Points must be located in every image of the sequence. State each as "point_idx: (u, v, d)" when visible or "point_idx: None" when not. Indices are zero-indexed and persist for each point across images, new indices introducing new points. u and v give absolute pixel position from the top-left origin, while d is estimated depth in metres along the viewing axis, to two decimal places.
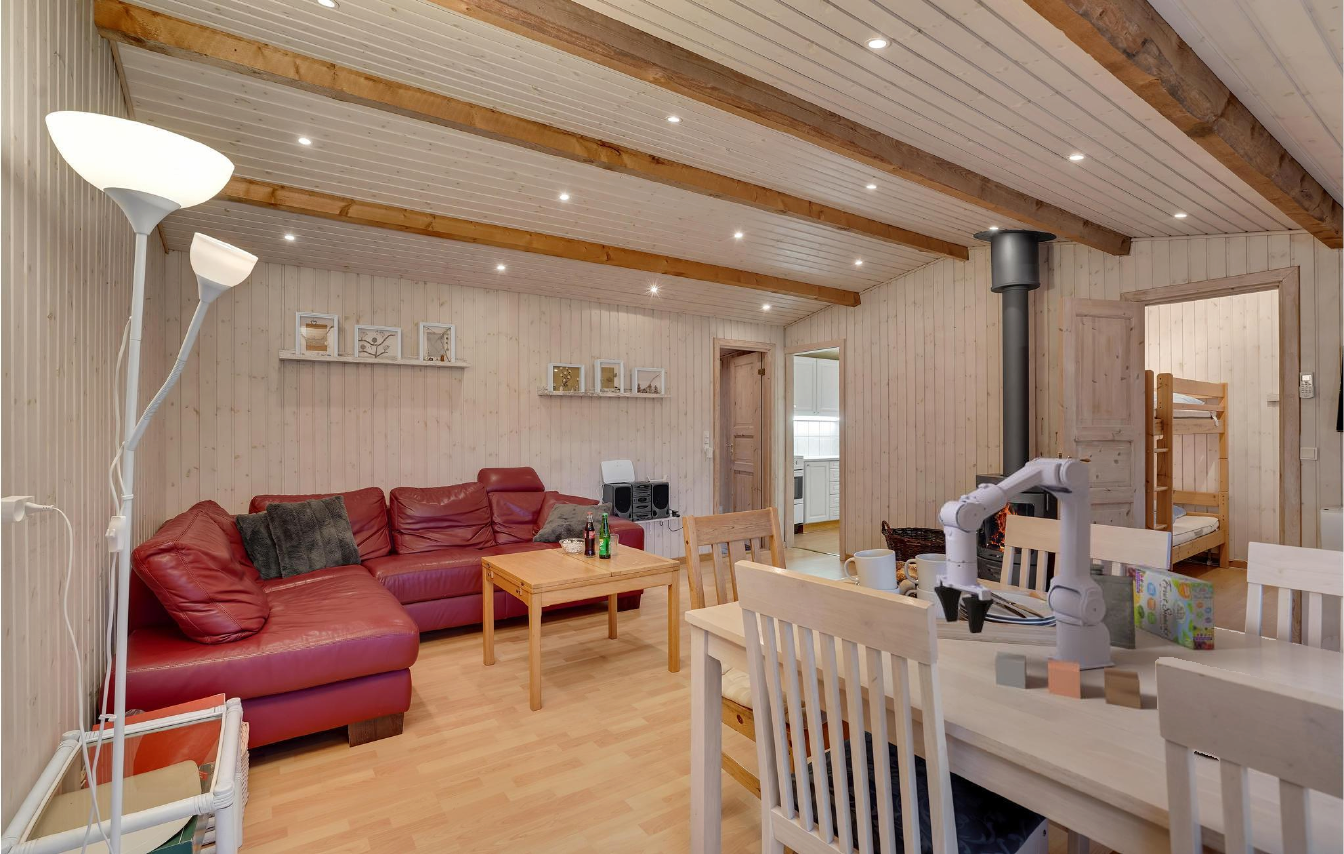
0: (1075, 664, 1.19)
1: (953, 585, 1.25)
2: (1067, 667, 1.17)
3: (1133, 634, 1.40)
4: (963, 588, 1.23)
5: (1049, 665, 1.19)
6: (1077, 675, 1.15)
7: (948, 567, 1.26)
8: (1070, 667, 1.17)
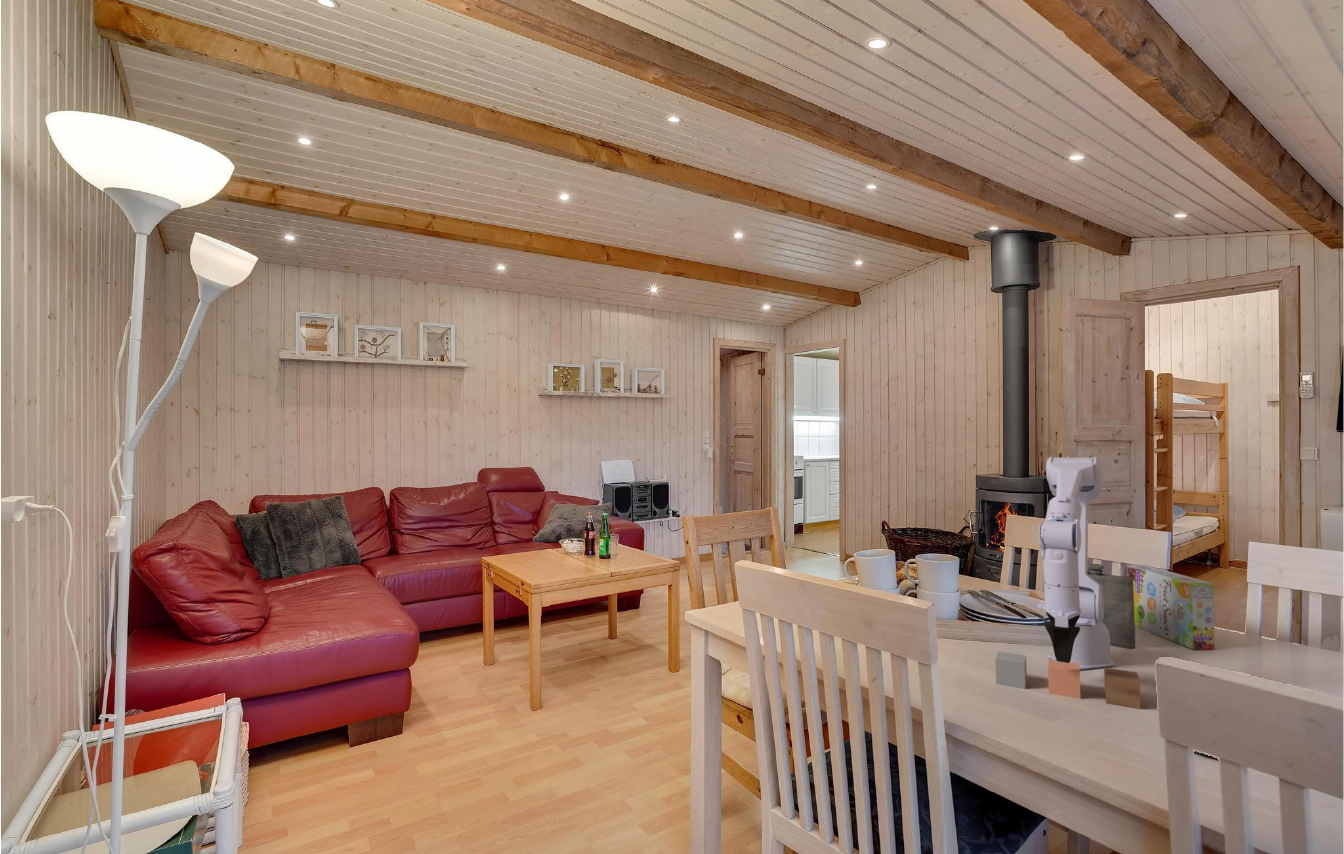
0: (1075, 664, 1.19)
1: (1044, 608, 1.19)
2: (1067, 667, 1.17)
3: (1133, 634, 1.40)
4: (1048, 612, 1.17)
5: (1049, 665, 1.19)
6: (1077, 675, 1.15)
7: (1044, 589, 1.20)
8: (1070, 667, 1.17)
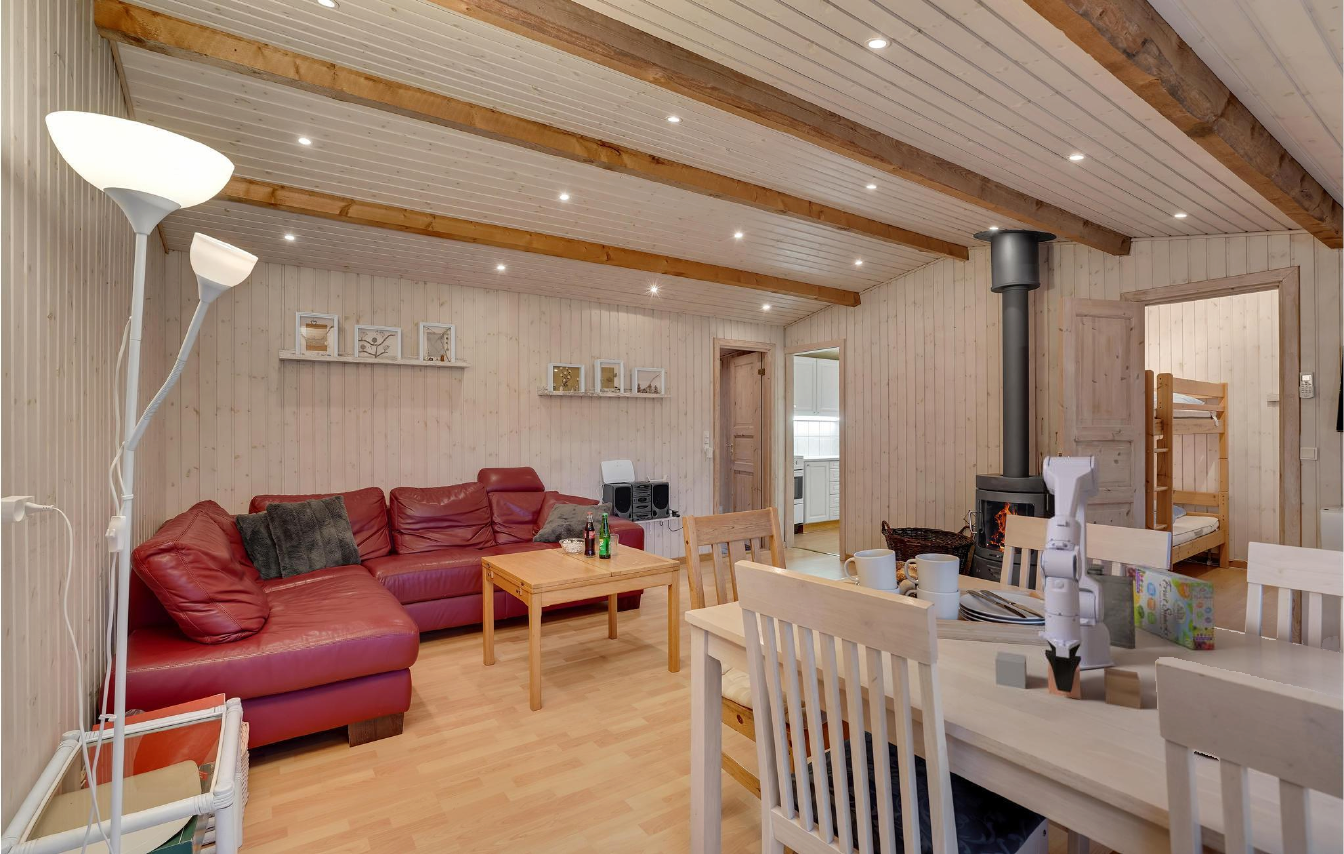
0: None
1: (1045, 636, 1.19)
2: None
3: (1133, 634, 1.40)
4: (1049, 640, 1.17)
5: (1049, 665, 1.19)
6: (1077, 675, 1.15)
7: None
8: None
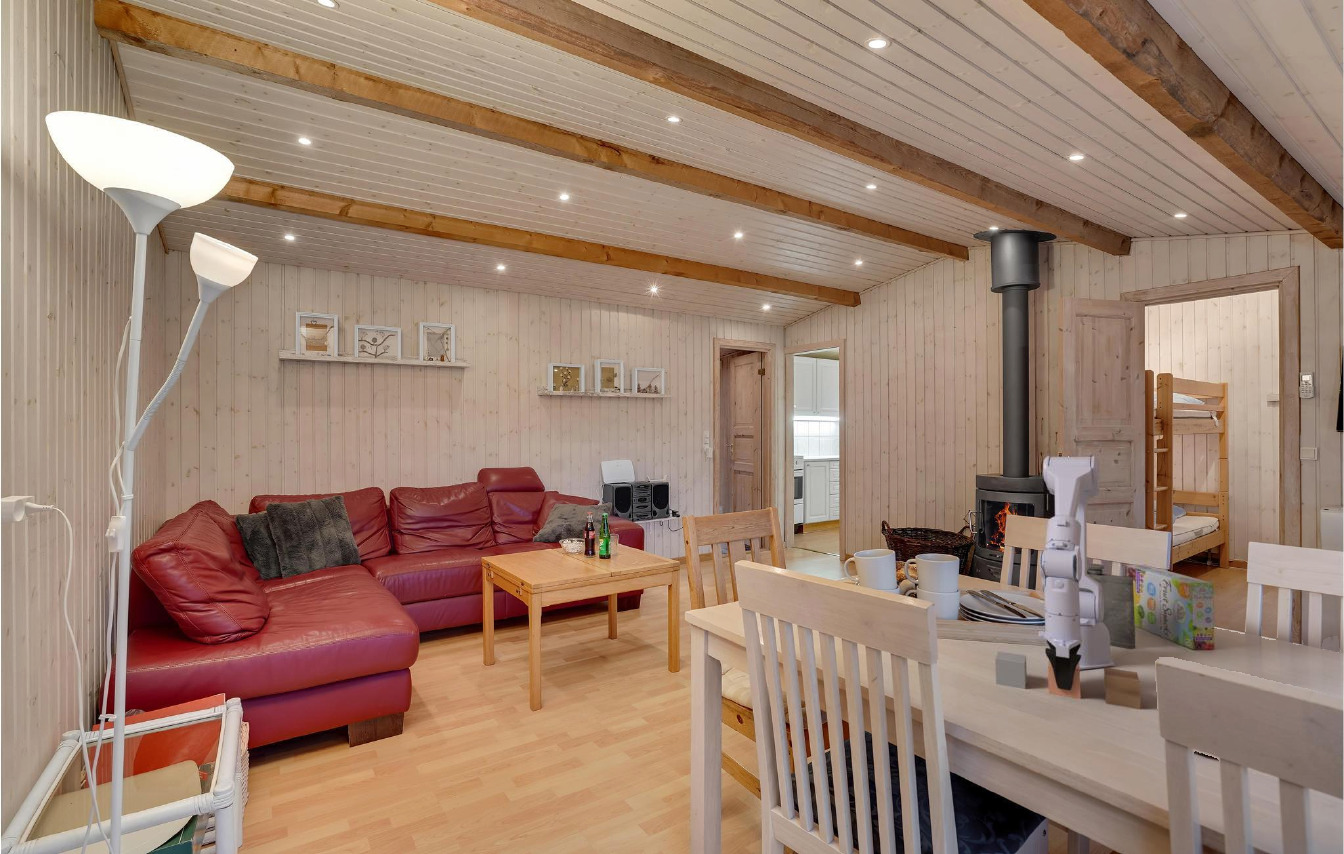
0: None
1: (1045, 636, 1.19)
2: None
3: (1133, 634, 1.40)
4: (1049, 640, 1.17)
5: (1049, 664, 1.19)
6: (1077, 674, 1.15)
7: None
8: None
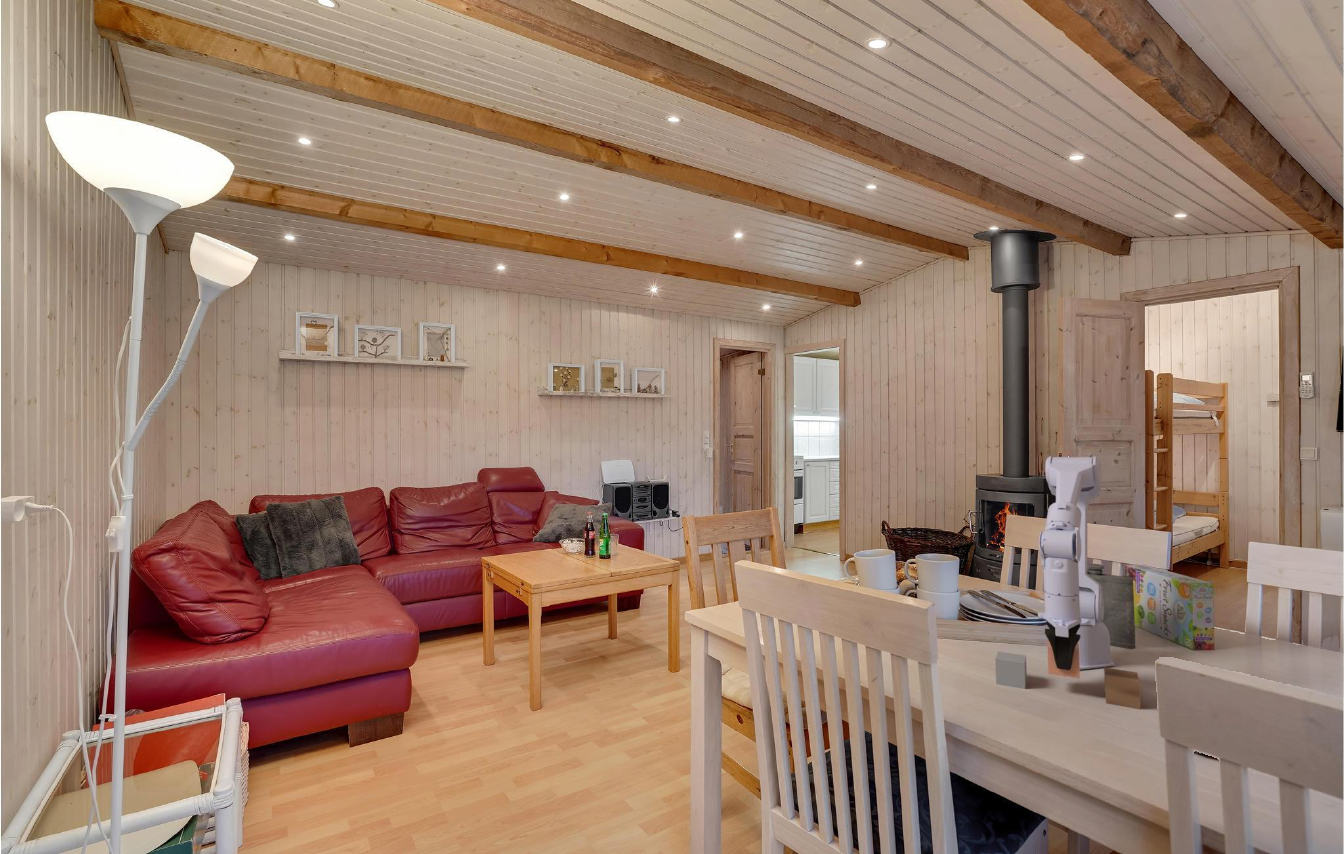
0: None
1: (1044, 616, 1.19)
2: None
3: (1133, 634, 1.40)
4: (1049, 621, 1.17)
5: (1048, 645, 1.19)
6: (1076, 654, 1.15)
7: None
8: None
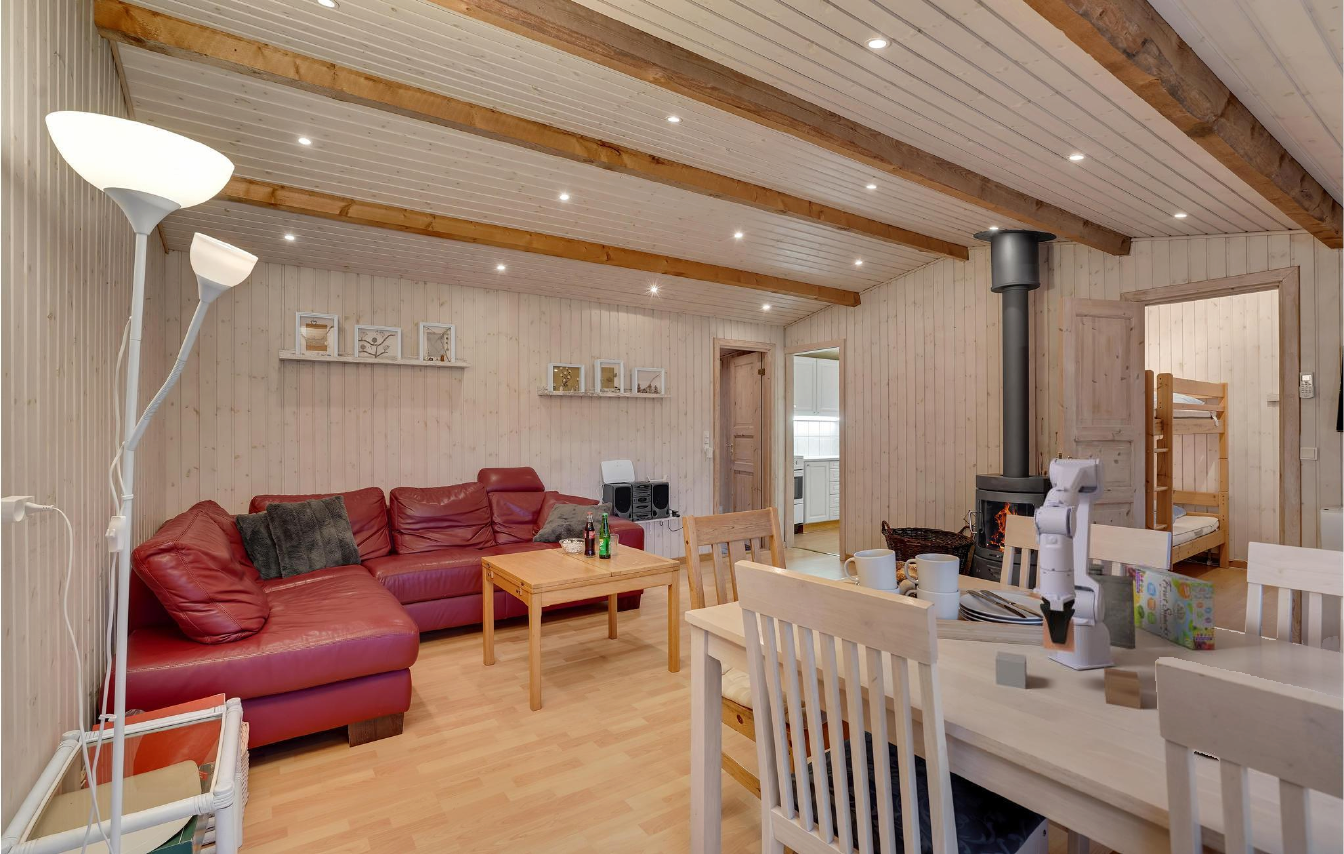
0: None
1: (1040, 592, 1.21)
2: None
3: (1133, 634, 1.40)
4: (1044, 596, 1.18)
5: (1043, 620, 1.20)
6: (1071, 628, 1.17)
7: None
8: None
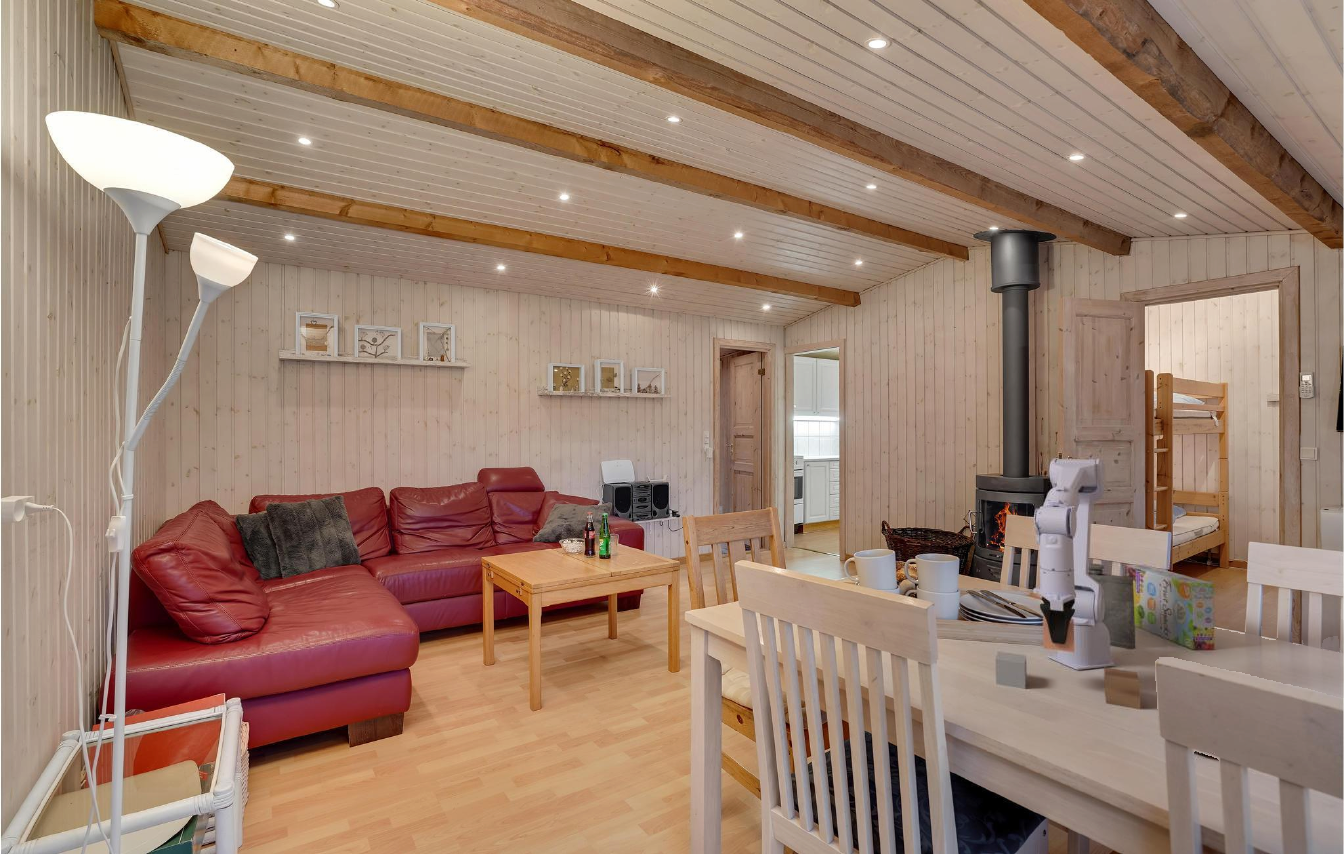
0: None
1: (1040, 592, 1.21)
2: None
3: (1133, 634, 1.40)
4: (1044, 596, 1.18)
5: (1043, 620, 1.20)
6: (1071, 628, 1.17)
7: None
8: None
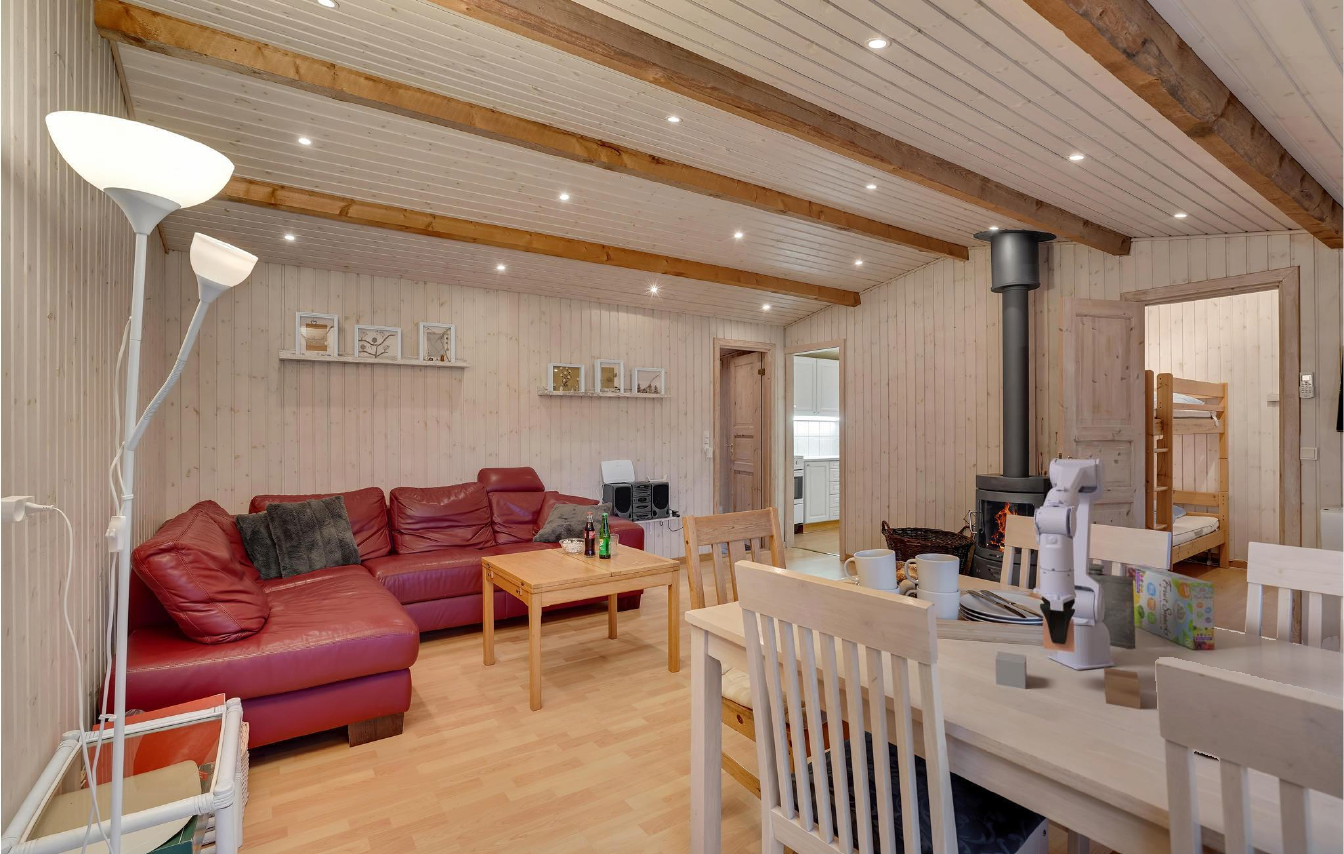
0: None
1: (1040, 592, 1.21)
2: None
3: (1133, 634, 1.40)
4: (1044, 596, 1.18)
5: (1043, 620, 1.20)
6: (1071, 628, 1.17)
7: None
8: None
